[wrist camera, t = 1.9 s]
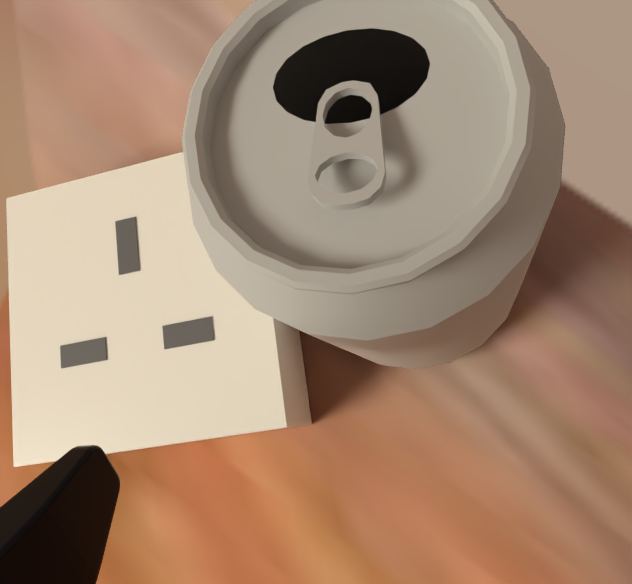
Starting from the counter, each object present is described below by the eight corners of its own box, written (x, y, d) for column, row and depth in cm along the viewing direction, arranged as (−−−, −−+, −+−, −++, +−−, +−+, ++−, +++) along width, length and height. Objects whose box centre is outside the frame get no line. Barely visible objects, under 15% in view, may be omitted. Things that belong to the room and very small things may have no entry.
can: (513, 155, 21) (559, -132, 10) (531, 367, 20) (607, 316, 8) (310, 178, 23) (151, -41, 12) (313, 373, 22) (135, 340, 10)
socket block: (311, 424, 21) (286, 427, 18) (69, 459, 24) (12, 467, 21) (277, 167, 24) (249, 133, 21) (58, 221, 26) (5, 197, 23)
